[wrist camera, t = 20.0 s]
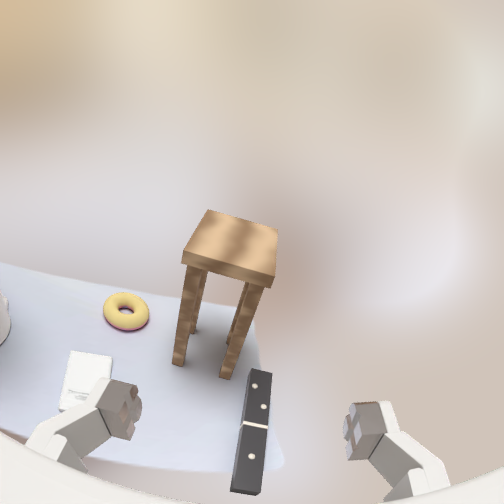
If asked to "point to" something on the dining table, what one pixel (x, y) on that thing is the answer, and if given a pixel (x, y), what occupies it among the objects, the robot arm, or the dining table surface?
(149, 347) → the dining table surface
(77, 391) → the external hard drive
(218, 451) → the dining table surface
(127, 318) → the donut
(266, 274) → the stool
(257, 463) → the domino
